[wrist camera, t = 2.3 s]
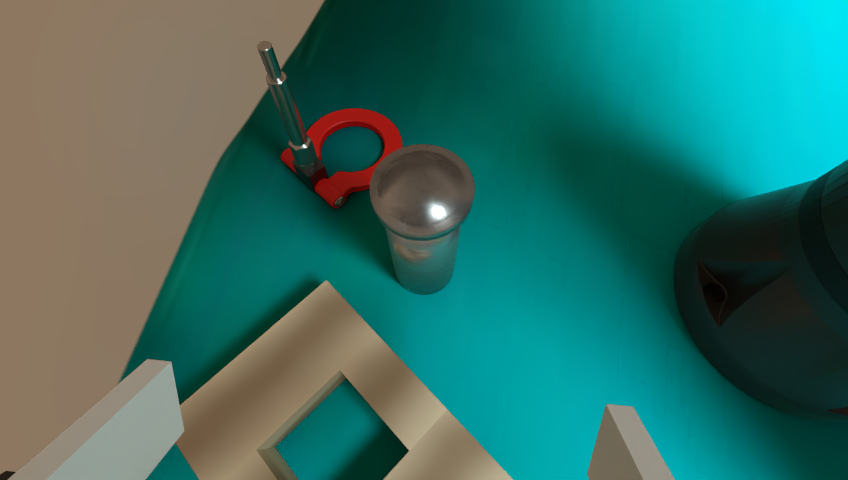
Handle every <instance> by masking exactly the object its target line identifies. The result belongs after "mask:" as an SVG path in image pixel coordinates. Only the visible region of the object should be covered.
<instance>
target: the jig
mask: <svg viewBox="0 0 848 480" xmlns="http://www.w3.org/2000/svg"><path fill="white" fill-rule="evenodd" d="M346 378H347V379H348V380H349V381H350V383H351V384H352V385H353V386H354V387H355V388H356V390H357V391H358V392H359V393H360V394H361V395H362V396H363V398H364V399H365V400H366V401H367V402H368V403H369V405H370V406H371V407H372V408H373V409H374V410H375V412H376V413H377V414H378V415H379V416H380V417H381V419H382V420H383V421H384V422H385V423H386V424H387V425H388V427H389V428H390V429H391V430H392V431H393V432H394V434H395V435H396V436H397V437H398V438H399V439H400V441H401V442H402V443H403V444H404V445H405V446H406V448H407V449H408V450H409V451H408V452H407V454H406V455H405V456H404V457H403V458H402V459H401V460H400V461H399V462H398V463H397V465H396V466H395V467H394V468H393V469H392V470H391V471H390V472H389V473H388V474H387V476H386V477H385V478H384V479H383V480H513V479H512V478H511V477H510V476H509V475H508V474H507V473H506V472H505V471H504V469H503V468H502V467H501V466H500V465H499V464H498V463H497V462H496V461H495V460H494V459H493V458H492V457H491V456H490V455H489V453H488V452H487V451H486V450H485V449H484V448H483V447H482V446H481V445H480V444H479V443H478V442H477V441H476V440H475V438H474V437H473V436H472V435H471V434H470V433H469V432H468V431H467V430H466V429H465V428H464V427H463V426H462V425H461V423H460V422H459V421H458V420H457V419H456V418H455V417H454V416H453V415H452V414H451V413H450V412H449V411H448V410H447V408H446V407H445V406H444V405H443V404H442V403H441V402H440V401H439V400H438V399H437V398H436V397H435V396H434V395H433V394H432V392H431V391H430V390H429V389H428V388H427V387H426V386H425V385H424V384H423V383H422V382H421V381H420V380H419V379H418V377H417V376H416V375H415V374H414V373H413V372H412V371H411V370H410V369H409V368H408V367H407V366H406V365H405V364H404V362H403V361H402V360H401V359H400V358H399V357H398V356H397V355H396V354H395V353H394V352H393V351H392V350H391V349H390V347H389V346H388V345H387V344H386V343H385V342H384V341H383V340H382V339H381V338H380V337H379V336H378V335H377V334H376V333H375V331H374V330H373V329H372V328H371V327H370V326H369V325H368V324H367V323H366V322H365V321H364V320H363V319H362V318H361V316H360V315H359V314H358V313H357V312H356V311H355V310H354V309H353V308H352V307H351V306H350V305H349V304H348V303H347V301H346V300H345V299H344V298H343V297H342V296H341V295H340V294H339V293H338V292H337V291H336V290H335V289H334V288H333V287H332V285H331V284H330V283H329V282H328V281H327V280H326V281H325V282H323V283H322V284H321V285H320V286H319V287H318V288H316V289H315V290H314V291H313V292H312V293H311V294H309V295H308V296H307V297H306V298H305V299H304V300H302V301H301V302H300V303H299V304H298V305H297V306H295V307H294V308H293V309H292V310H291V311H290V312H288V313H287V314H286V315H285V316H284V317H283V318H281V319H280V320H279V321H278V322H277V323H276V324H274V325H273V326H272V327H271V328H270V329H269V330H267V331H266V332H265V333H264V334H263V335H262V336H260V337H259V338H258V339H257V340H256V341H255V342H253V343H252V344H251V345H250V346H249V347H248V348H246V349H245V350H244V351H243V352H242V353H241V354H239V355H238V356H237V357H236V358H235V359H234V360H232V361H231V362H230V363H229V364H228V365H227V366H225V367H224V368H223V369H222V370H221V371H220V372H218V373H217V374H216V375H215V376H214V377H213V378H211V379H210V380H209V381H208V382H207V383H206V384H204V385H203V386H202V387H201V388H200V389H199V390H197V391H196V392H195V393H194V394H193V395H192V396H190V397H189V398H188V399H187V400H186V401H185V402H183V403H182V404H181V405H180V410H181V415H182V421H183V426H184V432H183V433H182V435H181V436H180V437H179V438H178V440H177V441H176V442H175V443H176V444H177V446H178V448H179V449H180V451H181V452H182V454H183V455H184V457H185V458H186V460H187V461H188V463H189V465H190V466H191V468H192V469H193V471H194V472H195V474H196V475H197V477H198V479H199V480H299V479H298V478H297V477H296V475H295V474H294V472H293V471H292V470H291V468H290V467H289V466H288V464H287V463H286V462H285V460H284V459H283V458H282V456H281V455H280V453H279V452H278V451H277V449H276V448H275V447H276V446H277V445H278V444H279V443H280V442H281V441H282V440H283V439H284V438H285V437H286V436H287V435H288V434H289V433H290V432H291V431H292V430H293V429H294V428H295V427H296V426H297V425H298V424H299V423H300V422H301V421H302V420H303V419H305V418H306V417H307V416H308V415H309V414H310V413H311V412H312V411H313V410H314V409H315V408H316V407H317V406H318V405H319V404H320V403H321V402H322V401H323V400H324V399H325V398H326V397H327V396H328V395H329V394H330V393H331V392H332V391H334V390H335V389H336V388H337V387H338V386H339V385H340V384H341V383H342V382H343V381H344V380H345V379H346Z"/></svg>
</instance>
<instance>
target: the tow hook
mask: <svg viewBox="0 0 848 480" xmlns="http://www.w3.org/2000/svg"><path fill="white" fill-rule="evenodd" d="M257 48H258V51H259V53H260V56H261V58H262V61H263V63H264V66H265V68H266V71H267V76H266V81H267V83H268V86H269V88H270V91H271V93H272V96H273V98H274V101H275V103H276V106H277V108H278V111H279V113H280V116H281V118H282V121H283V123H284V126H285V128H286V131H287V133H288V136H289V138H290V141H289V147H290V148H287V149H286V150H284V152H283V153H282V155H281V160H282V161H283V162H284V163H285V164H286V165H287V166H288V167H289V168H291V169H292V170H293V171H294V172H295V173H296V174H297V175H298V177H299V178H300V179H301V180H302V181H303V182H304V183H305V184H306V185H307V186H308V187H309V188H311V189H312V190H313V191H314V192H316V193H318V194H319V195H320V196H321V197H322V198H323V199H324V200H325V201H327V202H328V203H329V204H330V205H331V206H332V207H333V208H335V209H337V208H339V207H341V206H342V205H343V204H344V203H345V201H346V196H348V195H349V194H350V193H352V192H354V191H362V190H366V189H370V181H371V177H372V174H373V172H374V170H375V169H376V167H377V166H378V164H379V163H380V162H381V161H382V160H383V159H384V158H385V157H386V156H387V155H389V154H390V153H392V152H394V151H396V150H398V149H400V148H402V138H401V136H400V133H399V131H398V129H397V128H396V126H395V125H394V124H393V123H392V122H391V121H390V120H389V119H387V118H386V117H385V116H383V115H381V114H379V113H376V112H374V111H371V110H366V109H360V108H355V109H343V110H339V111H334V112H332V113H330V114H328V115H325V116H323V117H322V118H321V119H319V120H318V121H316V122H315V123H314V124H313V125H312V126H311V127H310V129H309V130H308V131H307V132H305V129H304V126H303V123H302V120H301V117H300V114H299V111H298V108H297V106H296V103H295V100H294V97H293V94H292V91H291V88H290V85H289V82H288V79H287V76H286V74H285V73H284V72H283V71H281V70H280V67H279V65H278V61H277V59H276V56H275V53H274V50H273V48H272V44H271V43H270V42H267V41H263V42H260V43H259V44H258V46H257ZM348 126H360V127H366V128H368V129H371V130H373V131H374V132H376V133H377V134H378V135H379V136H380V137H381V138H382V140H383V142H384V145H385V149H384V152H383V155H382V156H381V158H380V159H379V161H378V162H376V163H375V164H374V165H373V166H371V167H369V168H367V169H365V170H362V171H358V172H343V171H339V172H337V173H335V174H334V175H333V176H331V177H330V178H329V179H328V175H327V172H326V169H325V166H324V164H323V163H322V162H320V161H321V158H322V157H321V148H322V145H323V143H324V141H325V140H326V138H327V137H328V136H329V135H330V134H332V133H333V132H334V131H336V130H339V129H341V128H344V127H348Z"/></svg>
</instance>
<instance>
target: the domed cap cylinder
mask: <svg viewBox="0 0 848 480" xmlns="http://www.w3.org/2000/svg"><path fill="white" fill-rule="evenodd" d="M474 190H475V186H474V180H473V176H472V174H471V171H470V169H469V168H468V166H467V165H466V164H465V162H464V161H463V160H462V159H461V158H460V157H459V156H457V155H456V154H454V153H453V152H451V151H449V150H447V149H445V148H442V147H439V146H435V145H429V144H416V145H410V146H406V147H403V148H400V149H398V150H396V151H394V152H392V153H390V154H389V155H387V156H386V157H385V158H384V159H383V160H382V161H381V162H380V163H379V164H378V166H377V167H376V169H375V170H374V172H373V174H372V177H371V181H370V198H371V202H372V206H373V209H374V212H375V214H376V216H377V218H378V219H379V221H380V222H381V223H382V225H383V226H384V227H385V229H386V233H387V238H388V243H389V247H390V252H391V256H392V261H393V266H394V270H395V274H396V277H397V279H398V281H399V283H400V284H401V285H402V286H403V287H404V288H405V289H406V290H408V291H410V292H412V293H415V294H419V295H429V294H433V293H436V292H438V291H440V290H441V289H443V288H444V287H445V286H446V285H447V284H448V283H449V281H450V279H451V277H452V274H453V269H454V263H455V257H456V251H457V245H458V239H459V233H460V227H461V225H462V224H463V222H464V221H465V220H466V218H467V217H468V215H469V213H470V210H471V207H472V203H473V198H474Z"/></svg>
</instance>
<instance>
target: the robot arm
mask: <svg viewBox="0 0 848 480" xmlns="http://www.w3.org/2000/svg"><path fill="white" fill-rule="evenodd" d="M674 286H675V294H676V299H677V303H678V306H679V309H680V312H681V315H682V318H683V320H684V322H685V324H686V326H687V328H688V330H689V332H690V334H691V336H692V337H693V339H694V341H695V342H696V344H697V345H698V347H699V348H700V349H701V351H702V352H703V353H704V355H705V356H706V357H707V358H708V359H709V361H710V362H711V363H712V364H713V365H714V366H715V367H716V368H717V369H718V370H719V371H720V372H721V373H722V374H723V375H724V376H725V377H726V378H727V379H729V380H730V381H731V382H732V383H733V384H735V385H736V386H737V387H739V388H740V389H741V390H743V391H744V392H746V393H747V394H749V395H750V396H752V397H754V398H755V399H757V400H759V401H760V402H762V403H764V404H766V405H768V406H770V407H772V408H775V409H777V410H779V411H782V412H785V413H787V414H790V415H794V416H797V417H801V418H805V419H811V420H817V421H848V160H846V161H844V162H843V163H841V164H840V165H839V166H837V167H835V168H834V169H832V170H831V171H829V172H827V173H826V174H824V175H822V176H821V177H819V178H817V179H816V180H813V181H809V182H805V183H802V184H798V185H794V186H791V187H787V188H783V189H780V190H776V191H772V192H769V193H765V194H761V195H758V196H754V197H751V198H747V199H744V200H740V201H737V202H735V203H732V204H730V205H728V206H726V207H724V208H722V209H721V210H719V211H717V212H716V213H715V214H713V215H712V216H710V217H709V218H708V219H706V220H705V221H704V222H702V223H701V224H700V225H698V226H697V227H696V228H695V229H694V230H693V231H692V232H691V233H690V234H689V235H688V236H687V238H686V239H685V241H684V242H683V244H682V246H681V248H680V250H679V253H678V256H677V259H676V263H675V270H674ZM183 432H184V426H183V421H182V415H181V410H180V405H179V400H178V394H177V389H176V384H175V379H174V373H173V368H172V363H171V362H170V361H160V360H150V359H147V360H146V361H145V362H143V363H142V364H141V365H140V366H139V367H138V368H136V369H135V370H134V371H133V372H132V373H131V374H129V375H128V376H127V377H126V378H125V379H124V380H123V381H121V382H120V383H119V384H118V385H117V386H116V387H114V388H113V389H112V390H111V391H110V392H109V393H108V394H106V395H105V396H104V397H103V398H102V399H100V400H99V401H98V402H97V403H96V404H95V405H93V406H92V407H91V408H90V409H89V410H88V411H87V412H85V413H84V414H83V415H82V416H81V417H80V418H78V419H77V420H76V421H75V422H74V423H73V424H72V425H70V426H69V427H68V428H67V429H66V430H64V431H63V432H62V433H61V434H60V435H59V436H58V437H57V438H55V439H54V440H53V441H52V442H51V443H49V444H48V445H47V446H46V447H45V448H44V449H43V450H41V451H40V452H39V453H38V454H37V455H35V456H34V457H33V458H32V459H31V460H30V461H28V462H27V463H26V464H25V465H24V466H23V467H22V468H21V469H19V470H18V471H17V472H9V471H5V472H4V473H2V474H1V475H0V480H146V478H147V477H148V476H149V475H150V473H151V472H152V471H153V470H154V468H155V467H156V466H157V465H158V463H159V462H160V461H161V460H162V458H163V457H164V456H165V455H166V453H167V452H168V451H169V450H170V448H171V447H172V446H173V445H174V443H175V442H176V441H177V440H178V438H179V437H180V436H181V435H182V433H183ZM587 474H588V477H589V480H675V479H674V477H673V476H672V474H671V472H670V470H669V469H668V467H667V465H666V463H665V462H664V460H663V458H662V456H661V455H660V453H659V451H658V450H657V448H656V446H655V444H654V443H653V441H652V439H651V437H650V436H649V434H648V432H647V430H646V429H645V427H644V425H643V423H642V422H641V420H640V418H639V416H638V415H637V413H636V411H635V409H634V408H633V407H631V406H621V405H611V404H606V407H605V410H604V414H603V418H602V421H601V425H600V429H599V432H598V436H597V440H596V443H595V447H594V451H593V454H592V458H591V462H590V465H589V469H588V473H587Z"/></svg>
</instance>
